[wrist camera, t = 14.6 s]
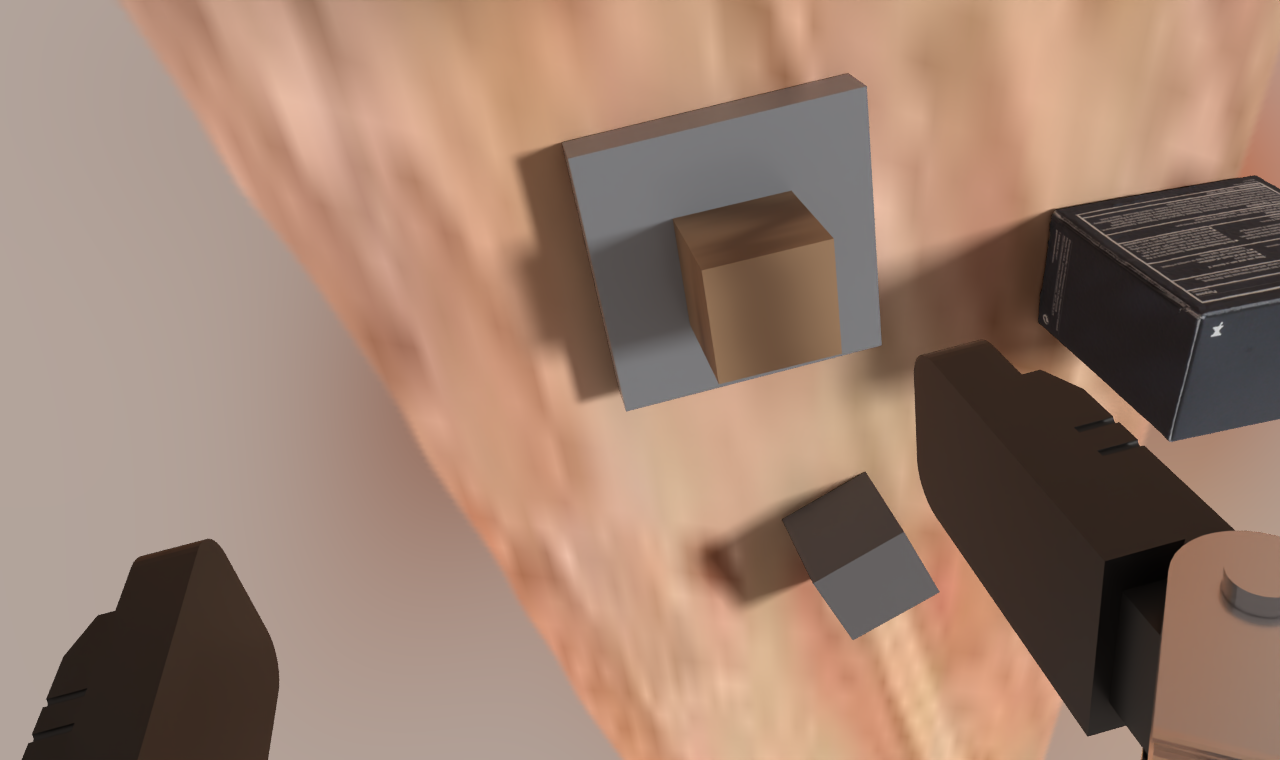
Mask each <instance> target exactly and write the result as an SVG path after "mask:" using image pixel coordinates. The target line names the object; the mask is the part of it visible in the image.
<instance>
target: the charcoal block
mask: <svg viewBox="0 0 1280 760" xmlns="http://www.w3.org/2000/svg"><path fill="white" fill-rule="evenodd" d="M782 521H783V523H784V525H785V527H786V529H787V531H788V533H789V535H790V537H791V539H792V541H793V543H794V545H795V547H796V549H797V552H798V554H799V556H800V558H801V560H802V562H803V564H804V566H805V568H806V570H807V572H808V574H809V576H810V578H811V580H812V582H813V584H814V586H815V587H816V588H817V590H818V591H819V593H820V594H821V595H822V597H823V598H824V600H825V601H826V603H827V604H828V605H829V607H830V608H831V610H832V611H833V613H834V614H835V615H836V617H837V618H838V620H839V621H840V622H841V624H842V625H843V627H844V628H845V630H846V631H847V632H848V634H849V635H850V637H851V638H852V640H854V639H856V638H858V637H860V636H862V635H863V634H865V633H867V632H869V631H871V630H872V629H874V628H876V627H878V626H880V625H881V624H883V623H885V622H887V621H889V620H890V619H892V618H894V617H896V616H898V615H899V614H901V613H903V612H905V611H907V610H908V609H910V608H912V607H914V606H916V605H917V604H919V603H921V602H923V601H925V600H926V599H928V598H930V597H932V596H934V595H935V594H937V593H939V590H938V588H937V587H936V585H935V583H934V582H933V580H932V578H931V577H930V575H929V573H928V572H927V570H926V568H925V567H924V565H923V563H922V561H921V560H920V558H919V556H918V555H917V553H916V551H915V550H914V548H913V546H912V545H911V543H910V541H909V540H908V538H907V536H906V535H905V533H904V531H903V530H902V528H901V527H900V525H899V523H898V522H897V520H896V519H895V517H894V516H893V514H892V512H891V511H890V509H889V508H888V506H887V505H886V503H885V502H884V500H883V498H882V497H881V495H880V494H879V492H878V491H877V489H876V487H875V486H874V484H873V483H872V481H871V480H870V478H869V476H868V475H867V473H866V472H864V473H862V474H860V475H858V476H857V477H855V478H853V479H851V480H850V481H848V482H846V483H845V484H843V485H841V486H839V487H838V488H836V489H834V490H832V491H831V492H829V493H827V494H825V495H824V496H822V497H820V498H818V499H817V500H815V501H813V502H812V503H810V504H808V505H806V506H805V507H803V508H801V509H799V510H798V511H796V512H794V513H792V514H791V515H789V516H787V517H785V518H784V519H782Z"/></svg>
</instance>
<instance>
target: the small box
mask: <svg viewBox="0 0 1280 760" xmlns="http://www.w3.org/2000/svg"><path fill="white" fill-rule="evenodd" d="M1038 322H1039V324H1041V325H1042V326H1043V327H1044V328H1045V329H1047V330H1048V331H1049V332H1050V333H1051V334H1052V335H1053V336H1054V337H1055V338H1057V339H1058V340H1059V341H1060V342H1061V343H1062V344H1063V345H1064V346H1065V347H1067V348H1068V349H1069V350H1070V351H1071V352H1072V353H1073V354H1074V355H1076V356H1077V357H1078V358H1079V359H1080V360H1081V361H1082V362H1083V363H1084V364H1086V365H1087V366H1088V367H1089V368H1090V369H1091V370H1092V371H1093V372H1094V373H1096V374H1097V375H1098V376H1099V377H1100V378H1101V379H1102V380H1103V381H1104V382H1105V383H1107V384H1108V385H1109V386H1110V387H1111V388H1112V389H1113V390H1114V391H1115V392H1116V393H1117V394H1119V395H1120V396H1121V397H1122V398H1123V399H1124V400H1125V401H1126V402H1127V403H1128V404H1130V405H1131V406H1132V407H1133V408H1134V409H1135V410H1136V411H1137V412H1138V413H1139V414H1140V415H1142V416H1143V417H1144V418H1145V419H1146V420H1147V421H1149V422H1150V423H1151V424H1152V425H1153V426H1154V427H1155V428H1156V429H1157V430H1158V431H1160V432H1161V433H1162V435H1163V436H1164V437H1165V438H1166V439H1167V440H1168V441H1170V442H1173V441H1177V440H1182V439H1186V438H1191V437H1196V436H1201V435H1206V434H1211V433H1215V432H1220V431H1224V430H1228V429H1234V428H1238V427H1243V426H1247V425H1253V424H1258V423H1262V422H1267V421H1272V420H1277V419H1280V189H1279V188H1277V187H1276V186H1274V185H1272V184H1270V183H1268V182H1266V181H1264V180H1263V179H1261V178H1260V177H1258V176H1248V177H1243V178H1236V179H1229V180H1224V181H1218V182H1213V183H1207V184H1201V185H1195V186H1189V187H1184V188H1178V189H1171V190H1166V191H1160V192H1155V193H1148V194H1143V195H1137V196H1131V197H1126V198H1119V199H1114V200H1108V201H1102V202H1097V203H1091V204H1086V205H1080V206H1074V207H1069V208H1064V209H1057V210H1055V211H1054V213H1053V214H1052V218H1051V223H1050V239H1049V241H1048V252H1047V259H1046V266H1045V273H1044V279H1043V287H1042V291H1041V293H1040V306H1039V317H1038Z"/></svg>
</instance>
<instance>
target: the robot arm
mask: <svg viewBox="0 0 1280 760" xmlns="http://www.w3.org/2000/svg"><path fill="white" fill-rule="evenodd" d="M914 388H915V414H916V441H917V463H918V471H919V476H920V480H921V484H922V487H923V490H924V493H925V496H926V498H927V501H928V503H929V505H930V507H931V509H932V511H933V513H934V514H935V516H936V517H937V519H938V520H939V522H940V523H941V525H942V526H943V528H944V529H945V531H946V532H947V533H948V535H949V536H950V538H951V539H952V541H953V542H954V544H955V545H956V546H957V548H958V549H959V551H960V552H961V554H962V555H963V557H964V558H965V560H966V561H967V562H968V564H969V565H970V567H971V568H972V570H973V571H974V573H975V574H976V575H977V577H978V578H979V580H980V581H981V583H982V584H983V586H984V587H985V588H986V590H987V591H988V593H989V594H990V596H991V597H992V599H993V600H994V602H995V603H996V604H997V606H998V607H999V609H1000V610H1001V612H1002V613H1003V615H1004V616H1005V617H1006V619H1007V620H1008V622H1009V623H1010V625H1011V626H1012V628H1013V629H1014V631H1015V632H1016V633H1017V635H1018V636H1019V638H1020V639H1021V641H1022V642H1023V644H1024V645H1025V646H1026V648H1027V649H1028V651H1029V652H1030V654H1031V655H1032V657H1033V658H1034V660H1035V661H1036V662H1037V664H1038V665H1039V667H1040V668H1041V670H1042V671H1043V673H1044V674H1045V675H1046V677H1047V678H1048V680H1049V681H1050V683H1051V684H1052V686H1053V687H1054V688H1055V690H1056V691H1057V693H1058V694H1059V696H1060V697H1061V699H1062V700H1063V702H1064V703H1065V704H1066V706H1067V707H1068V709H1069V710H1070V712H1071V713H1072V715H1073V716H1074V717H1075V719H1076V720H1077V722H1078V723H1079V725H1080V726H1081V728H1082V729H1083V731H1084V732H1085V733H1086V735H1087V736H1091V735H1095V734H1098V733H1101V732H1105V731H1109V730H1112V729H1116V728H1119V727H1123V726H1127V727H1128V728H1129V730H1130V731H1131V733H1132V734H1133V735H1134V737H1135V738H1136V739H1137V741H1138V742H1139V743H1140V745H1141V746H1142V747H1143V748H1142V756H1141V760H1280V537H1279V536H1276V535H1271V534H1266V533H1261V532H1252V531H1235V530H1234V529H1233V528H1232V527H1231V526H1230V525H1228V523H1227V522H1225V521H1224V520H1223V519H1222V518H1221V517H1220V516H1219V515H1218V514H1217V513H1216V512H1215V511H1214V510H1212V508H1210V507H1209V506H1208V505H1207V504H1206V503H1205V502H1204V501H1203V500H1202V499H1201V498H1200V497H1199V496H1198V495H1196V494H1195V493H1194V492H1193V491H1192V490H1191V489H1190V488H1189V487H1188V486H1187V485H1186V484H1185V483H1184V482H1182V480H1180V479H1179V478H1178V477H1177V476H1176V475H1175V474H1174V473H1173V472H1172V471H1171V470H1170V469H1169V468H1168V467H1167V466H1165V465H1164V464H1163V463H1162V462H1161V461H1160V460H1159V459H1158V458H1157V457H1156V456H1155V455H1154V454H1153V453H1151V452H1150V451H1149V450H1148V449H1147V448H1146V447H1145V446H1139V444H1138V439H1137V438H1135V437H1134V436H1133V435H1132V434H1131V433H1130V432H1129V431H1128V430H1127V429H1126V428H1125V427H1124V426H1123V425H1122V424H1120V423H1119V422H1118V423H1115V422H1114V419H1113V416H1112V415H1111V414H1110V413H1109V412H1108V411H1107V410H1105V409H1104V408H1103V407H1102V406H1101V405H1100V404H1099V403H1098V402H1097V401H1096V400H1095V399H1094V398H1093V397H1092V396H1090V395H1089V394H1088V393H1087V392H1086V391H1085V390H1084V389H1082V388H1080V387H1078V386H1076V385H1073V384H1071V383H1069V382H1067V381H1064V380H1062V379H1060V378H1058V377H1056V376H1053V375H1051V374H1049V373H1047V372H1044V371H1042V370H1038V371H1034V372H1030V373H1026V374H1021V373H1020V372H1019V371H1018V370H1017V369H1016V368H1015V367H1014V366H1013V365H1012V364H1011V363H1010V362H1009V361H1008V360H1007V359H1006V358H1005V357H1004V356H1003V355H1002V354H1001V353H1000V352H999V351H998V350H997V349H996V348H995V347H994V346H993V345H991V344H990V343H989V342H987V341H986V340H978V341H974V342H971V343H967V344H963V345H959V346H955V347H951V348H947V349H944V350H940V351H936V352H932V353H928V354H924V355H921V356H919V357H918V358H917V360H916V362H915V367H914ZM278 691H279V670H278V662H277V657H276V653H275V649H274V645H273V642H272V640H271V637H270V635H269V633H268V631H267V629H266V627H265V625H264V623H263V622H262V620H261V618H260V616H259V614H258V612H257V611H256V609H255V607H254V605H253V604H252V602H251V600H250V598H249V596H248V594H247V592H246V591H245V589H244V587H243V585H242V583H241V582H240V580H239V578H238V576H237V574H236V572H235V571H234V569H233V567H232V565H231V563H230V562H229V560H228V558H227V556H226V554H225V553H224V551H223V549H222V548H221V547H220V546H219V545H218V544H217V543H216V542H215V541H214V540H212V539H205V540H202V541H198V542H194V543H190V544H186V545H182V546H179V547H175V548H171V549H167V550H163V551H159V552H156V553H152V554H148V555H144V556H140V557H139V558H137V559H136V560H135V562H134V563H133V565H132V567H131V570H130V572H129V575H128V578H127V581H126V583H125V586H124V589H123V591H122V594H121V598H120V600H119V602H118V605H117V608H116V611H113V612H109V613H105V614H101V615H98V616H97V617H96V618H95V619H94V621H93V622H92V623H91V624H90V625H89V626H88V628H87V629H86V630H85V631H84V633H83V634H82V635H81V636H80V637H79V639H78V640H77V641H76V642H75V643H74V645H73V646H72V647H71V648H70V649H69V651H68V652H67V653H66V654H65V656H64V657H63V659H62V662H61V664H60V666H59V669H58V671H57V674H56V676H55V679H54V681H53V684H52V687H51V689H50V691H49V694H48V696H47V702H48V706H47V707H43V709H42V711H41V713H40V716H39V718H38V721H37V723H36V726H35V728H34V731H33V733H32V735H33V738H34V740H33V742H31V743H28V746H27V748H26V750H25V753H24V755H23V758H22V760H268V755H269V749H270V743H271V736H272V730H273V724H274V716H275V710H276V704H277V698H278Z"/></svg>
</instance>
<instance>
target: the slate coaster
mask: <svg viewBox="0 0 1280 760" xmlns="http://www.w3.org/2000/svg"><path fill="white" fill-rule="evenodd" d="M562 146H563V150H564V154H565V159H566V163H567V167H568V172H569V176H570V180H571V184H572V189H573V193H574V197H575V202H576V206H577V210H578V215H579V219H580V223H581V228H582V232H583V236H584V241H585V245H586V249H587V253H588V258H589V262H590V266H591V271H592V275H593V279H594V284H595V288H596V292H597V297H598V301H599V305H600V310H601V314H602V318H603V322H604V327H605V331H606V335H607V340H608V344H609V348H610V353H611V357H612V361H613V366H614V370H615V374H616V379H617V383H618V387H619V391H620V394H621V397H622V400H623V403H624V406H625V409H626V411H630V410H634V409H638V408H642V407H645V406H649V405H653V404H657V403H661V402H665V401H669V400H672V399H676V398H680V397H684V396H688V395H692V394H696V393H700V392H703V391H707V390H711V389H715V388H719V387H723V386H727V385H730V384H734V383H738V382H742V381H746V380H750V379H754V378H757V377H761V376H765V375H769V374H773V373H777V372H781V371H785V370H788V369H792V368H796V367H800V366H804V365H808V364H812V363H815V362H819V361H823V360H827V359H831V358H835V357H839V356H842V355H846V354H850V353H854V352H858V351H862V350H866V349H869V348H873V347H877V346H881V345H882V342H881V325H880V308H879V290H878V273H877V256H876V238H875V221H874V204H873V186H872V169H871V152H870V135H869V117H868V100H867V86H866V85H864V84H863V83H861V82H860V81H859V80H857V79H856V78H854V77H853V76H852V75H850V74H849V73H847V74H843V75H839V76H835V77H831V78H827V79H823V80H818V81H814V82H810V83H806V84H802V85H798V86H794V87H789V88H785V89H781V90H777V91H773V92H769V93H765V94H760V95H756V96H752V97H748V98H744V99H740V100H736V101H731V102H727V103H723V104H719V105H715V106H711V107H707V108H702V109H698V110H694V111H690V112H686V113H682V114H678V115H673V116H669V117H665V118H661V119H657V120H653V121H649V122H644V123H640V124H636V125H632V126H628V127H624V128H620V129H615V130H611V131H607V132H603V133H599V134H595V135H591V136H586V137H582V138H578V139H574V140H570V141H566V142H562ZM787 191H792V192H793V193H794V194H795V195H796V196H797V197H798V199H799V200H800V201H801V202H802V203H803V204H804V205H805V207H806V208H807V209H808V210H809V211H810V212H811V213H812V214H813V216H814V217H815V218H816V219H817V220H818V221H819V222H820V224H821V225H822V226H823V227H824V228H825V229H826V230H827V231H828V233H829V234H830V235H831V236H832V237H833V238H834V248H835V262H836V276H837V291H838V305H839V319H840V333H841V347H842V354H839V355H835V356H831V357H827V358H823V359H819V360H815V361H811V362H807V363H803V364H799V365H795V366H791V367H787V368H783V369H779V370H775V371H771V372H767V373H763V374H759V375H755V376H751V377H747V378H743V379H739V380H735V381H731V382H726V383H722V384H719V383H718V381H717V379H716V377H715V375H714V373H713V371H712V369H711V367H710V365H709V363H708V361H707V359H706V357H705V355H704V352H703V350H702V348H701V346H700V344H699V342H698V340H697V338H696V336H695V334H694V332H693V330H692V328H691V326H690V321H689V315H688V309H687V303H686V297H685V291H684V285H683V279H682V273H681V267H680V261H679V255H678V249H677V242H676V236H675V230H674V224H673V218H677V217H682V216H686V215H690V214H694V213H699V212H703V211H707V210H711V209H715V208H720V207H724V206H728V205H732V204H737V203H741V202H745V201H749V200H753V199H758V198H762V197H766V196H770V195H775V194H779V193H783V192H787Z"/></svg>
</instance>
